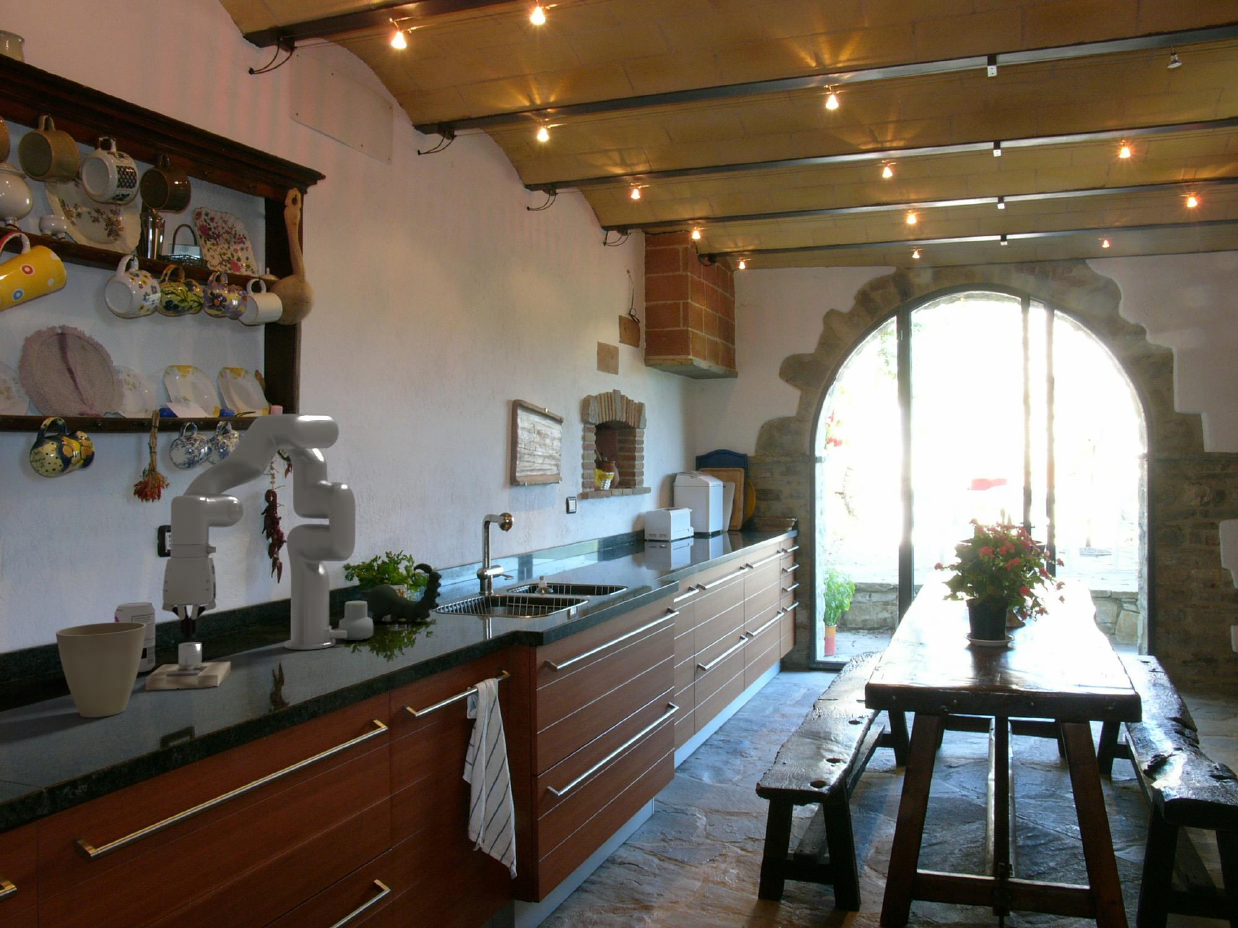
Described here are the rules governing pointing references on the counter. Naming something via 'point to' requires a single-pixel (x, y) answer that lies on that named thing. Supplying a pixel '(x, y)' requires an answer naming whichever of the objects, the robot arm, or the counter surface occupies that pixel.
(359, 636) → the air freshener
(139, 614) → the supplement can
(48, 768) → the counter surface
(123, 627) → the plant pot
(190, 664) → the bushing
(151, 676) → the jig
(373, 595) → the toy figurine
